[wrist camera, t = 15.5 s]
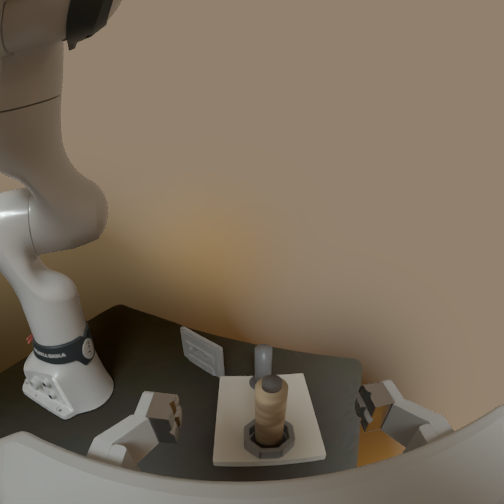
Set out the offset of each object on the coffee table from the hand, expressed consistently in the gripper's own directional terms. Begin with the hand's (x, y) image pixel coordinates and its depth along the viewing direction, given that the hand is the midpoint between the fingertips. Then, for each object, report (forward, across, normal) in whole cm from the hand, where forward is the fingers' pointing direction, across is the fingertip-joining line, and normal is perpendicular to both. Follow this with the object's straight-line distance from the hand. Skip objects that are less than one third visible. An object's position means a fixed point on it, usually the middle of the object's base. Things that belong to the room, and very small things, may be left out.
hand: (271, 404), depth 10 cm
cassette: (+37, +10, +28) cm, 48 cm away
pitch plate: (+22, -2, +28) cm, 36 cm away
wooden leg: (+16, -2, +26) cm, 31 cm away
